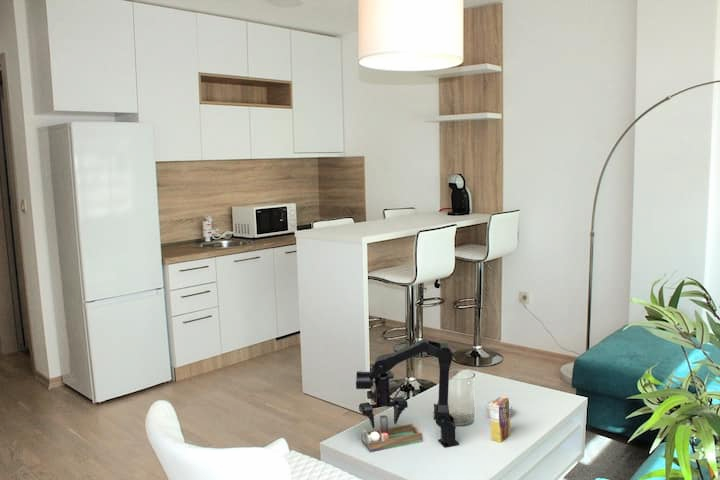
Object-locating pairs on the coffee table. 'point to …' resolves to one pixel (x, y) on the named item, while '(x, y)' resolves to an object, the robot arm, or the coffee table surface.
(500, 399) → the candy box
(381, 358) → the robot arm
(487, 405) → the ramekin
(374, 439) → the ball
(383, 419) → the cylinder
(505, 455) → the coffee table surface
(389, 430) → the tray
